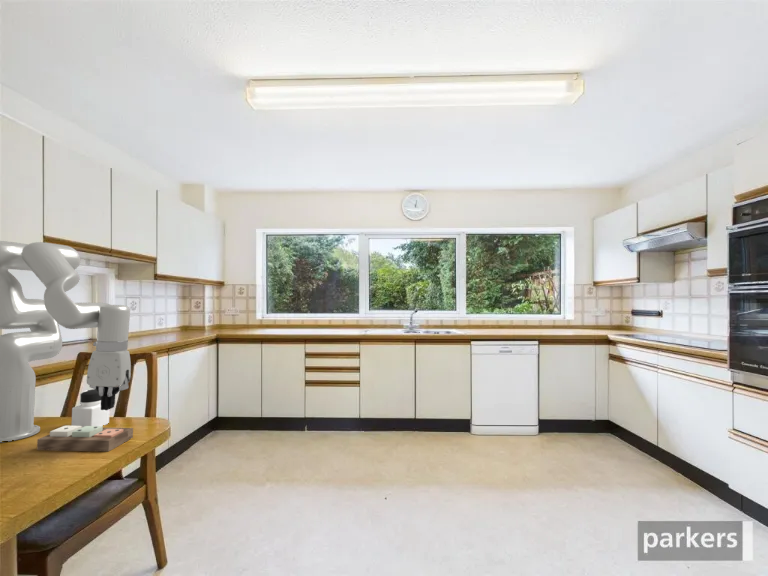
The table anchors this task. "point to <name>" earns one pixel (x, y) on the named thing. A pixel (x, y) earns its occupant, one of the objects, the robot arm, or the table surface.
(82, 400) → the medicine bottle
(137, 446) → the table surface
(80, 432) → the button two sage
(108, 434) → the button three terracotta
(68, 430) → the button one cream
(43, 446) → the button board
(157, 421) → the table surface
